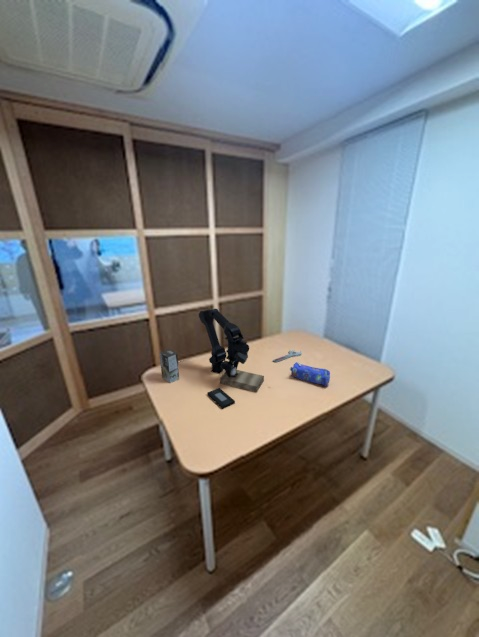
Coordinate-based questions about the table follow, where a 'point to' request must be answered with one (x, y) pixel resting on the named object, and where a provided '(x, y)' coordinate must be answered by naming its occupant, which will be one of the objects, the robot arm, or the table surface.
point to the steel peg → (233, 372)
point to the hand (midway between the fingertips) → (232, 373)
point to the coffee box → (169, 365)
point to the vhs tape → (221, 398)
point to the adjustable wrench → (288, 356)
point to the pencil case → (310, 374)
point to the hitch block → (243, 380)
